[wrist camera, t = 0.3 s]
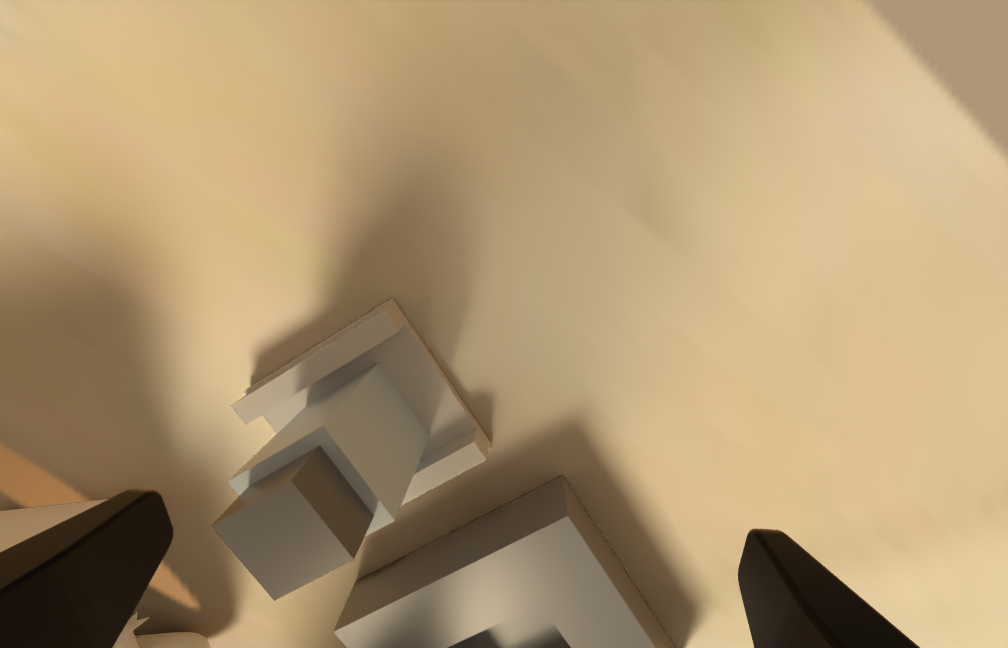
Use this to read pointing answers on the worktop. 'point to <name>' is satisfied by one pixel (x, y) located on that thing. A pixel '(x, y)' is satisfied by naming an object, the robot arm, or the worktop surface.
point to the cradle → (409, 369)
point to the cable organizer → (24, 523)
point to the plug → (324, 483)
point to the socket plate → (506, 586)
